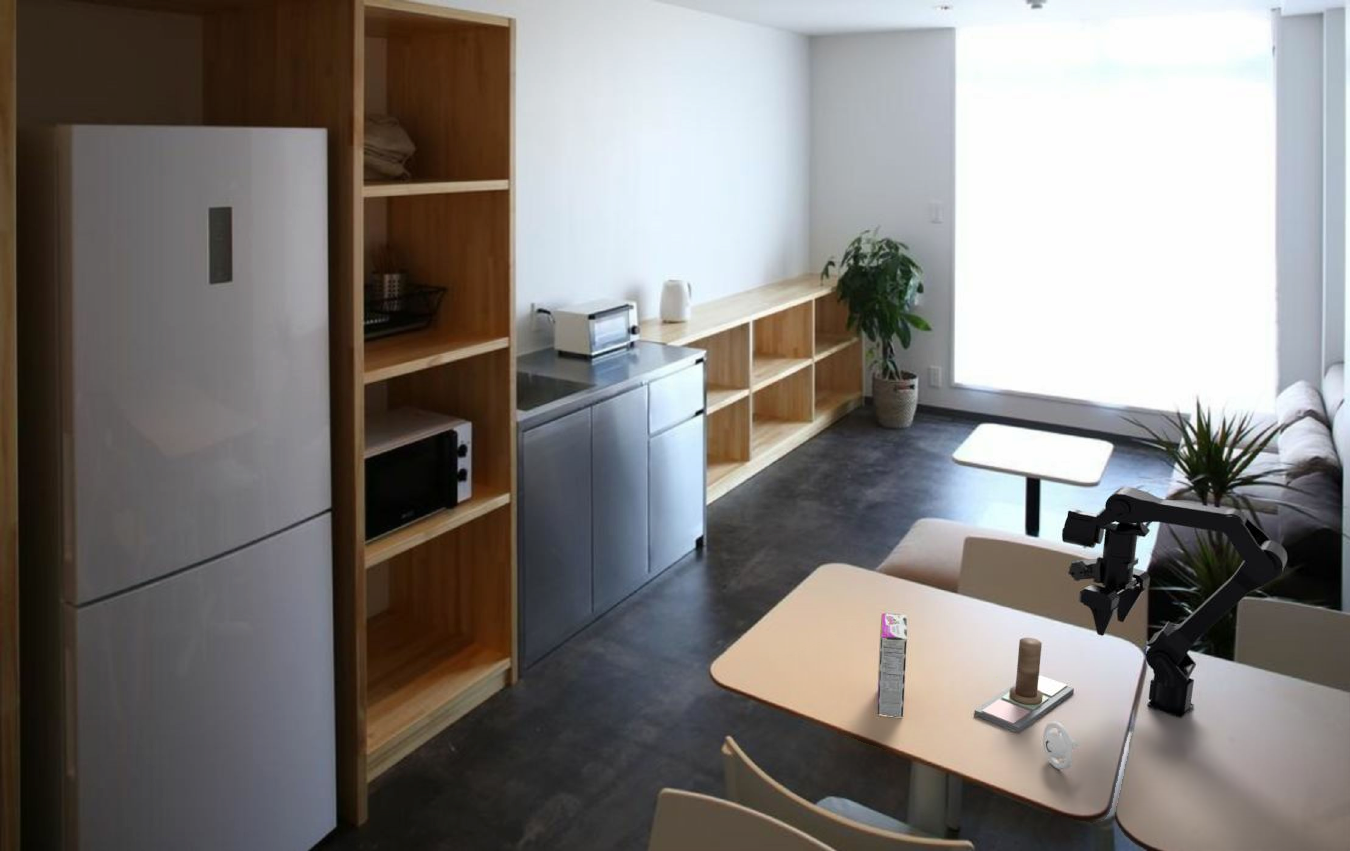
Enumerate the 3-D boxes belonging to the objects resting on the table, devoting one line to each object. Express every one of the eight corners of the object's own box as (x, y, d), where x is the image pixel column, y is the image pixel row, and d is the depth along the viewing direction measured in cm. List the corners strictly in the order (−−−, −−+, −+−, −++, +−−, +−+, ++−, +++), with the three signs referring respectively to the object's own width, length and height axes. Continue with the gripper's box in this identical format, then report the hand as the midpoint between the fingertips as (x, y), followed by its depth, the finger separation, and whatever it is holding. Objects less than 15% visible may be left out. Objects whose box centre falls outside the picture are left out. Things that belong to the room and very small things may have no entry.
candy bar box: (876, 689, 207) (881, 611, 203) (902, 691, 206) (907, 614, 202) (876, 716, 196) (880, 635, 193) (903, 719, 195) (908, 638, 192)
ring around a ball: (1033, 755, 183) (1037, 713, 182) (1062, 751, 185) (1066, 710, 183) (1059, 780, 176) (1064, 737, 174) (1089, 776, 177) (1094, 733, 175)
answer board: (1073, 692, 206) (1074, 686, 206) (1018, 732, 191) (1019, 726, 191) (1030, 677, 212) (1031, 671, 212) (974, 714, 197) (974, 708, 197)
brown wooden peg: (1049, 701, 200) (1054, 645, 197) (1024, 707, 197) (1029, 651, 195) (1027, 687, 205) (1031, 633, 202) (1002, 693, 203) (1007, 638, 200)
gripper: (1099, 531, 213) (1091, 603, 217) (1056, 553, 200) (1049, 629, 204) (1154, 545, 205) (1146, 619, 209) (1114, 569, 193) (1105, 647, 196)
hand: (1110, 628), depth 205 cm, fingers open, 9 cm apart
